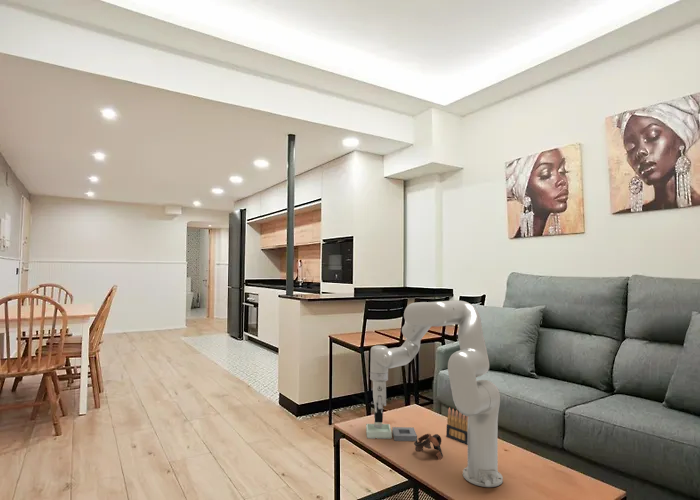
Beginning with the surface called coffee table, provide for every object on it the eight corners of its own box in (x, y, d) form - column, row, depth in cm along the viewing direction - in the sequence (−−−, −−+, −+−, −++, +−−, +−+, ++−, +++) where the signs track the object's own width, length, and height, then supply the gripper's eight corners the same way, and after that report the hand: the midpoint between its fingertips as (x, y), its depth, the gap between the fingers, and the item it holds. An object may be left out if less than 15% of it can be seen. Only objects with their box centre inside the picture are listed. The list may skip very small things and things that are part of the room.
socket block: (417, 441, 163) (417, 436, 163) (394, 440, 163) (394, 435, 163) (413, 432, 172) (413, 427, 172) (392, 431, 172) (392, 427, 172)
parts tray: (391, 438, 165) (391, 432, 165) (367, 438, 165) (367, 432, 165) (389, 430, 174) (389, 424, 174) (366, 429, 174) (366, 423, 174)
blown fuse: (382, 428, 168) (382, 406, 169) (374, 428, 168) (374, 405, 169) (381, 425, 172) (382, 403, 172) (374, 424, 172) (374, 403, 172)
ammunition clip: (471, 444, 161) (471, 413, 162) (468, 445, 160) (468, 414, 160) (448, 435, 169) (448, 406, 170) (446, 436, 168) (446, 407, 169)
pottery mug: (437, 465, 144) (425, 443, 146) (418, 468, 150) (407, 447, 152) (452, 445, 153) (441, 425, 155) (434, 449, 159) (423, 430, 161)
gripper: (389, 381, 163) (389, 428, 162) (386, 371, 179) (385, 413, 178) (371, 381, 163) (370, 427, 162) (369, 370, 179) (368, 413, 178)
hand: (378, 419), depth 170 cm, fingers closed on blown fuse, 3 cm apart
